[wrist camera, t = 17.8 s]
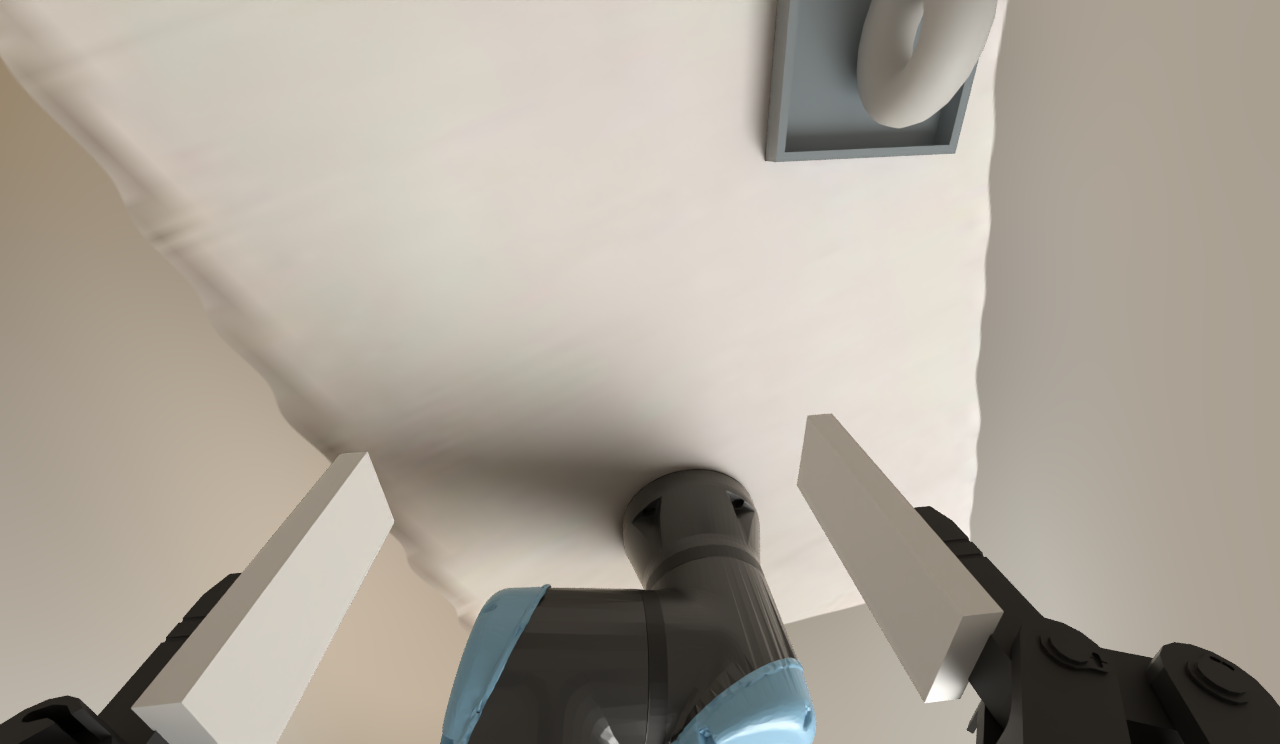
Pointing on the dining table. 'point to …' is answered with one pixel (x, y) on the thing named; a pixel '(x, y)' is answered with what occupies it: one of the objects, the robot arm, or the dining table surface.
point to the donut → (918, 55)
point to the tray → (839, 92)
